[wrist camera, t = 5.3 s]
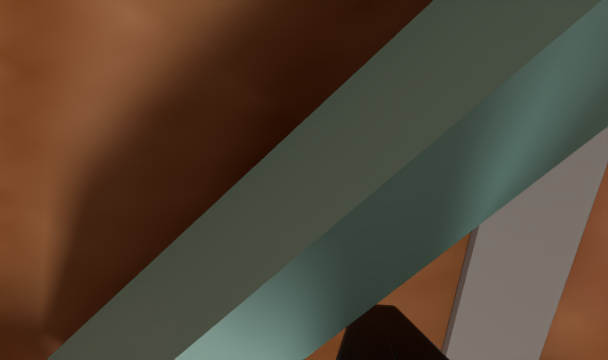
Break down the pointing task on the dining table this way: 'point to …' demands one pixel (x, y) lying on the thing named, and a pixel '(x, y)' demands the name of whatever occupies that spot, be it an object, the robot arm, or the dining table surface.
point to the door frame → (524, 262)
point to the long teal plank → (370, 185)
